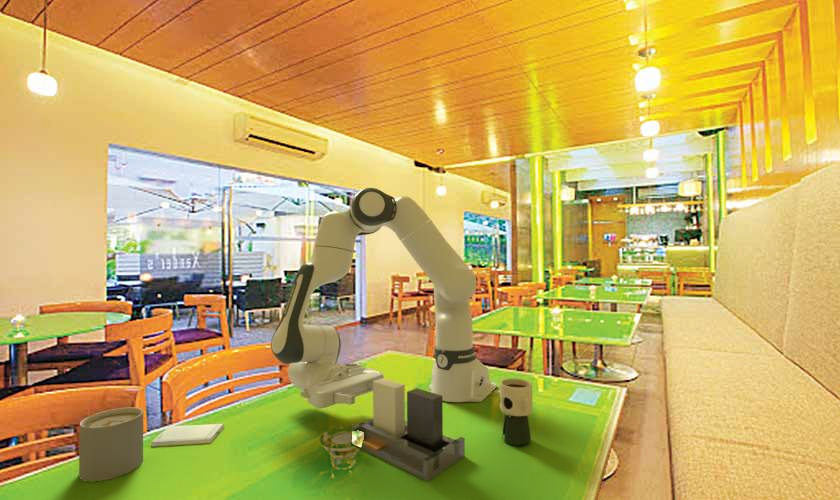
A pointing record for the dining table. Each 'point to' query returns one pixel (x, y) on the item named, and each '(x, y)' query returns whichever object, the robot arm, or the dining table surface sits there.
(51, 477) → the dining table surface
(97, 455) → the coffee mug
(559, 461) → the dining table surface
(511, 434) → the character mug
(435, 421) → the rack
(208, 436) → the hard drive
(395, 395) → the beige rectangular block
